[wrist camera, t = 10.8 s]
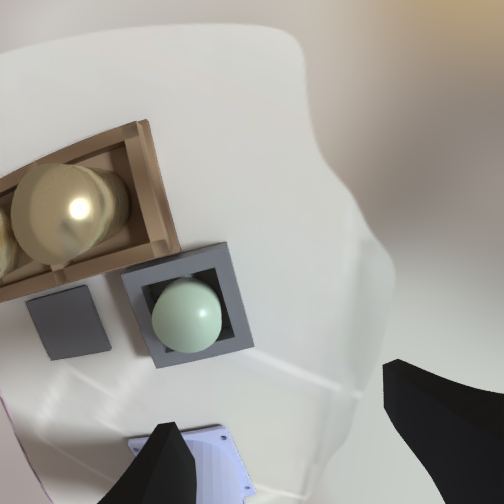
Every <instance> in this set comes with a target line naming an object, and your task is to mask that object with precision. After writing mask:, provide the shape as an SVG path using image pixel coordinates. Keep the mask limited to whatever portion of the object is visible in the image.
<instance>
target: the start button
mask: <svg viewBox="0 0 504 504" xmlns="http://www.w3.org/2000/svg"><path fill="white" fill-rule="evenodd" d="M221 323H222V321H221V304H220V300H219V297H218V295H217V293H216V292H215V290H214V289H213V288H212V287H211V286H210V285H208V284H207V283H205V282H203V281H201V280H199V279H195V278H181V279H178V280H175V281H173V282H171V283H170V284H168V285H167V286H166V287H165V288H164V290H163V291H162V293H161V295H160V297H159V299H158V301H157V303H156V305H155V307H154V309H153V313H152V325H153V329H154V331H155V334H156V335H157V337H158V338H159V339H160V341H161V342H162V343H163V344H165V345H166V346H167V347H169V348H171V349H173V350H175V351H178V352H183V353H194V352H199V351H202V350H204V349H206V348H208V347H209V346H210V345H212V344H213V343H214V342H215V340H216V339H217V337H218V336H219V333H220V331H221Z"/></svg>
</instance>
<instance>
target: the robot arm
mask: <svg viewBox="0 0 504 504" xmlns="http://www.w3.org/2000/svg"><path fill="white" fill-rule="evenodd" d="M383 392H384V409H385V410H386V412H387V414H388V416H389V418H390V420H391V422H392V423H393V425H394V427H395V429H396V430H397V431H398V433H399V434H400V436H401V437H402V438H403V439H404V441H405V442H406V444H407V445H408V446H409V447H410V449H411V450H412V451H413V453H414V454H415V455H416V457H417V458H418V459H419V461H420V462H421V463H422V465H423V466H424V467H425V469H426V470H427V471H428V473H429V474H430V476H431V477H432V479H433V481H434V483H435V485H436V487H437V488H438V490H439V492H440V494H441V496H442V497H443V500H444V502H445V504H504V394H502V393H496V392H491V391H485V390H481V389H477V388H473V387H470V386H466V385H463V384H460V383H457V382H454V381H451V380H448V379H446V378H443V377H440V376H438V375H435V374H433V373H430V372H428V371H426V370H423V369H421V368H419V367H416V366H414V365H412V364H409V363H407V362H405V361H402V360H400V359H396V360H394V361H391V362H389V363H386V364H384V365H383ZM221 436H225V437H221ZM127 445H128V447H129V448H130V450H131V451H132V453H133V454H134V456H135V457H136V458H135V459H134V460H133V462H132V463H131V465H130V466H129V468H128V469H127V470H126V471H125V473H124V474H123V475H122V476H121V478H120V479H119V480H118V481H117V483H116V484H115V485H114V486H113V487H112V489H111V490H110V491H109V492H108V493H107V494H106V495H105V496H104V497H103V498H102V499H101V500H100V501H99V502H98V503H97V504H246V501H245V497H248V496H253V495H255V493H256V491H255V488H254V486H253V484H252V482H251V480H250V478H249V475H248V473H247V471H246V469H245V467H244V465H243V462H242V460H241V458H240V456H239V454H238V451H237V449H236V447H235V444H234V442H233V440H232V438H231V435H230V433H229V431H228V429H227V427H225V426H216V427H211V428H206V429H200V430H194V431H188V432H182V433H180V431H179V429H178V427H177V425H176V424H175V422H170V423H163V424H158V425H157V426H156V428H155V429H154V431H153V432H152V434H151V435H150V437H144V438H134V439H129V440H128V444H127ZM136 448H137V449H136Z"/></svg>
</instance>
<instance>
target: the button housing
mask: <svg viewBox="0 0 504 504" xmlns="http://www.w3.org/2000/svg"><path fill="white" fill-rule="evenodd" d="M214 267H215V269H216V273H217V277H218V280H219V284H220V287H221V291H222V294H223V298H224V301H225V304H226V308H227V311H228V315H229V318H230V321H231V325H232V327H229V328H225V329H221V331H220V333H219V336H218V337H217V339H216V340H215V342H214V343H213V344H212V345H210V346H209V347H208V348H206V349H204V350H202V351H199V352H194V353H183V352H178V351H175V350H173V349H171V348H169V347H167V346H166V345H165V344H163V343H162V342H161V341H160V339H159V338H158V337H157V335H156V334H155V331H154V329H153V325H152V313H153V309H154V307H155V303H154V301H153V298H152V295H151V292H150V289H149V286H148V285H149V284H153V283H157V282H160V281H164V280H168V279H172V278H176V277H180V276H184V275H188V274H191V273H195V272H199V271H203V270H207V269H211V268H214ZM121 278H122V281H123V283H124V286H125V289H126V292H127V295H128V298H129V301H130V303H131V306H132V309H133V312H134V314H135V317H136V320H137V322H138V325H139V327H140V330H141V333H142V335H143V338H144V340H145V343H146V345H147V347H148V350H149V352H150V355H151V357H152V359H153V362H154V364H155V366H156V369H158V368H163V367H168V366H173V365H178V364H183V363H187V362H192V361H196V360H201V359H205V358H210V357H214V356H218V355H223V354H227V353H231V352H235V351H239V350H243V349H247V348H251V347H254V343H253V338H252V334H251V331H250V327H249V324H248V320H247V316H246V313H245V309H244V305H243V302H242V298H241V294H240V291H239V287H238V283H237V280H236V276H235V272H234V268H233V265H232V261H231V257H230V253H229V249H228V246H227V242H223V243H220V244H216V245H212V246H208V247H204V248H201V249H197V250H193V251H189V252H186V253H182V254H178V255H174V256H171V257H167V258H163V259H159V260H156V261H152V262H148V263H145V264H141V265H137V266H134V267H130V268H127V269H126V270H125V271H124V272H123V273H122V274H121Z"/></svg>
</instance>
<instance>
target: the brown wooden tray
mask: <svg viewBox="0 0 504 504" xmlns="http://www.w3.org/2000/svg"><path fill="white" fill-rule="evenodd" d="M46 163H58V164H67V165H76V166H84V167H92V168H100V169H107V170H110V171H113V172H115V173H116V174H118V175H119V176H120V177H121V178H122V179H123V180H124V181H125V182H126V184H127V186H128V188H129V190H130V193H131V197H132V210H131V215H130V218H129V220H128V222H127V224H126V226H125V227H124V228H123V230H122V231H121V232H120V233H118V234H117V235H115V236H114V237H112V238H110V239H108V240H106V241H104V242H102V243H100V244H99V245H97V246H95V247H93V248H91V249H89V250H87V251H86V252H84V253H82V254H80V255H78V256H76V257H75V258H73V259H71V260H69V261H67V262H65V263H63V264H58V265H46V264H42V263H40V262H37V261H35V260H33V261H32V262H31V263H29V264H27V265H25V266H23V267H21V268H19V269H17V270H15V271H13V272H12V273H10V274H8V275H6V276H4V277H2V278H0V303H1V302H5V301H8V300H11V299H15V298H18V297H22V296H25V295H28V294H32V293H35V292H39V291H42V290H46V289H49V288H53V287H56V286H60V285H63V284H67V283H70V282H74V281H77V280H81V279H84V278H88V277H91V276H95V275H98V274H102V273H106V272H109V271H113V270H116V269H120V268H124V267H127V266H131V265H134V264H138V263H142V262H145V261H149V260H153V259H156V258H160V257H164V256H168V255H171V254H175V253H179V252H180V251H181V248H180V244H179V241H178V237H177V234H176V230H175V227H174V223H173V219H172V215H171V212H170V208H169V204H168V200H167V197H166V193H165V189H164V185H163V181H162V177H161V173H160V169H159V165H158V161H157V156H156V152H155V148H154V144H153V139H152V135H151V130H150V126H149V121H148V120H147V119H145V120H142V121H139V122H137V121H134V122H131V123H128V124H125V125H122V126H119V127H117V128H114V129H111V130H108V131H106V132H103V133H100V134H98V135H95V136H92V137H90V138H87V139H85V140H82V141H80V142H77V143H75V144H72V145H70V146H68V147H65V148H63V149H61V150H58V151H56V152H54V153H52V154H49V155H47V156H45V157H43V158H41V159H39V160H36V161H34V162H32V163H30V164H28V165H26V166H24V167H22V168H20V169H18V170H16V171H14V172H12V173H10V174H8V175H6V176H5V177H3V178H1V179H0V204H7V203H12V200H13V196H14V193H15V190H16V188H17V186H18V184H19V183H20V181H21V180H22V178H23V177H24V176H25V175H26V174H27V173H28V172H29V171H30V170H32V169H33V168H35V167H37V166H39V165H42V164H46Z"/></svg>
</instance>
